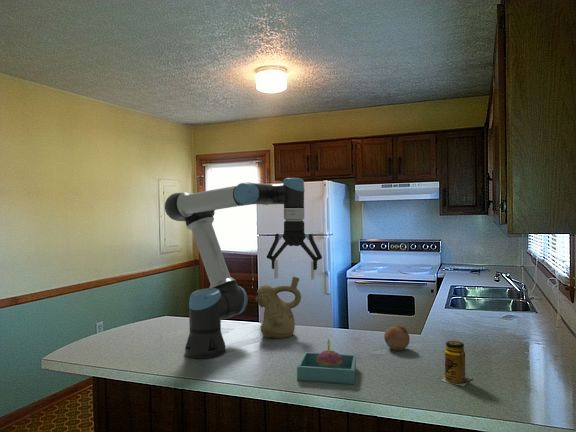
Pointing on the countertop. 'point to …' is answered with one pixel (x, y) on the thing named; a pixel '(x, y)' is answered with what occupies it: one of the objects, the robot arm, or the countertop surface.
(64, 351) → the countertop surface
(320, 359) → the cupcake
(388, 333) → the onion
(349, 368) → the tub
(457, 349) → the condiment
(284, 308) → the ceramic vessel
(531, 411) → the countertop surface
